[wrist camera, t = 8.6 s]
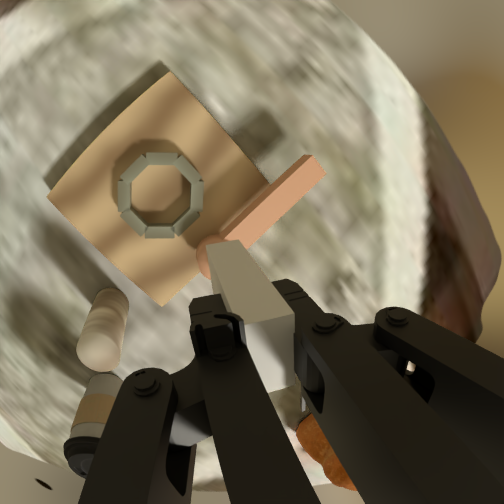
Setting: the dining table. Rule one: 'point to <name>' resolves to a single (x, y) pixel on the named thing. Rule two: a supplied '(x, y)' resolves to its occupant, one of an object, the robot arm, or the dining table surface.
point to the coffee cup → (90, 421)
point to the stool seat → (158, 188)
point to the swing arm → (265, 208)
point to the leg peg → (104, 331)
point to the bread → (322, 452)
